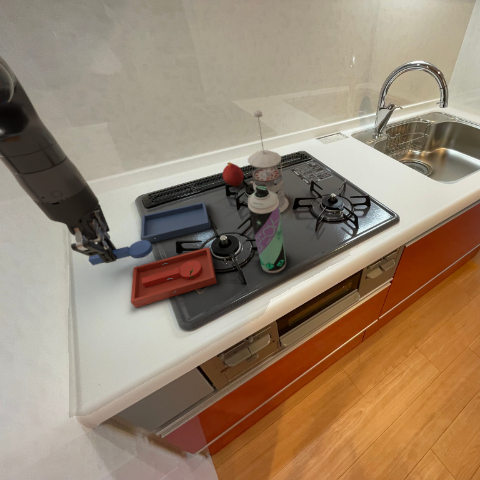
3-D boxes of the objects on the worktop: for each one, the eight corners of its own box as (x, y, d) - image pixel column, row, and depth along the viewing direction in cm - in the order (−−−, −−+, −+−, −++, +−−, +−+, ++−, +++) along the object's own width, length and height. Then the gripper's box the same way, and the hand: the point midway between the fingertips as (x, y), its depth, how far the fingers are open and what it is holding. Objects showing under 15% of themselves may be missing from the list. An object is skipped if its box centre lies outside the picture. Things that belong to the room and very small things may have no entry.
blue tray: (144, 244, 64) (140, 238, 63) (145, 221, 70) (142, 215, 69) (210, 228, 68) (208, 222, 67) (206, 207, 74) (204, 201, 73)
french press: (246, 210, 74) (224, 115, 56) (266, 187, 81) (253, 98, 64) (279, 218, 71) (266, 121, 54) (296, 194, 79) (291, 103, 61)
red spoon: (144, 293, 54) (141, 289, 53) (145, 277, 57) (141, 272, 55) (203, 276, 57) (201, 271, 56) (201, 261, 60) (199, 256, 59)
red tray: (135, 307, 52) (130, 302, 51) (137, 273, 58) (133, 267, 57) (216, 283, 56) (214, 277, 55) (211, 253, 62) (208, 247, 61)
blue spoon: (91, 270, 55) (87, 265, 53) (94, 255, 57) (90, 250, 56) (152, 255, 58) (149, 250, 57) (153, 241, 61) (150, 236, 60)
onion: (236, 179, 85) (231, 155, 79) (249, 185, 82) (244, 161, 77) (222, 187, 81) (215, 163, 76) (235, 194, 79) (228, 169, 73)
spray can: (258, 258, 61) (241, 182, 47) (281, 251, 63) (271, 176, 49) (265, 276, 58) (248, 199, 44) (289, 268, 59) (281, 192, 45)
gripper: (42, 171, 48) (96, 241, 60) (15, 216, 39) (85, 288, 51) (91, 164, 50) (134, 232, 62) (76, 205, 41) (129, 276, 53)
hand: (111, 257), depth 57 cm, fingers closed on blue spoon, 1 cm apart
